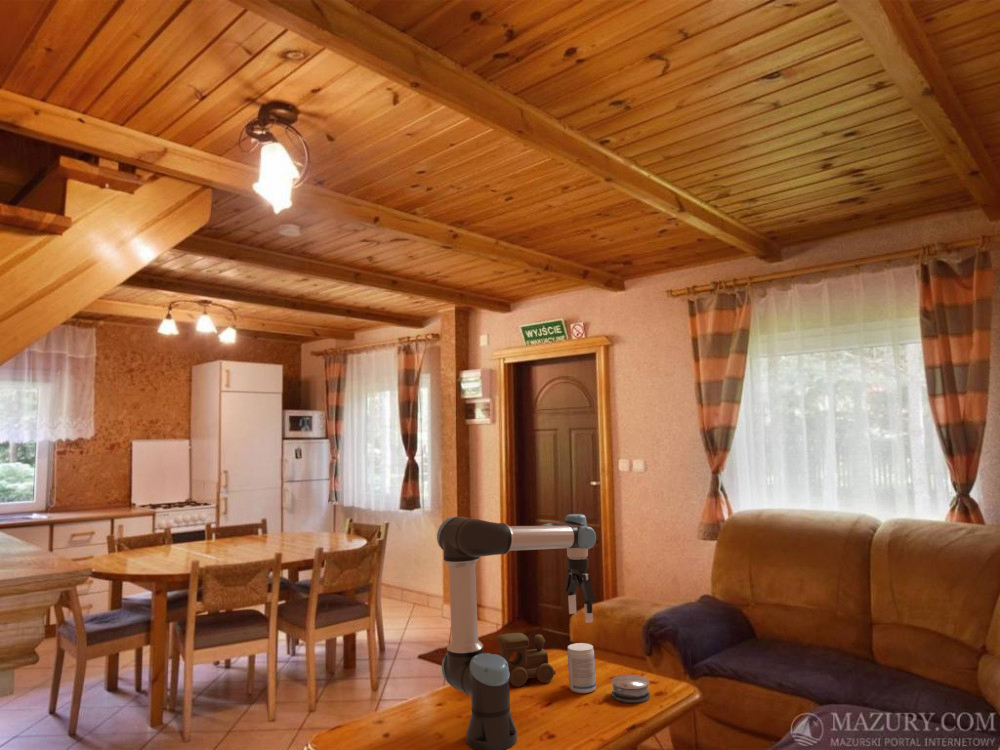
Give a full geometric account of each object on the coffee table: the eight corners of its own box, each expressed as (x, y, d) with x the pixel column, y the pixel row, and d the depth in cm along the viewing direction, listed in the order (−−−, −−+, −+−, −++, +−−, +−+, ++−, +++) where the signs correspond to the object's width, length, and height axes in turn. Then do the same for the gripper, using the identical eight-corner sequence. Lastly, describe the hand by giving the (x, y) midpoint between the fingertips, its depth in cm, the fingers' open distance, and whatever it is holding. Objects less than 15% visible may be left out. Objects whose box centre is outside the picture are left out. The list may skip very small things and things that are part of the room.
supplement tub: (601, 690, 233) (599, 647, 235) (581, 696, 228) (579, 652, 230) (583, 682, 241) (581, 640, 243) (563, 688, 236) (561, 645, 238)
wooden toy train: (506, 690, 236) (504, 642, 238) (497, 679, 247) (495, 634, 249) (557, 682, 242) (555, 636, 244) (546, 672, 253) (545, 628, 255)
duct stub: (623, 706, 218) (622, 690, 219) (605, 692, 230) (604, 678, 231) (657, 699, 222) (656, 684, 223) (637, 687, 235) (636, 672, 235)
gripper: (603, 561, 229) (606, 624, 226) (572, 551, 252) (575, 608, 250) (583, 563, 226) (586, 627, 224) (554, 553, 250) (557, 611, 247)
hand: (580, 617), depth 237 cm, fingers open, 13 cm apart
